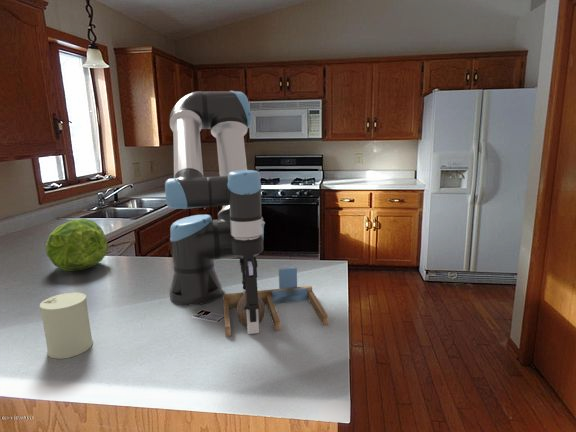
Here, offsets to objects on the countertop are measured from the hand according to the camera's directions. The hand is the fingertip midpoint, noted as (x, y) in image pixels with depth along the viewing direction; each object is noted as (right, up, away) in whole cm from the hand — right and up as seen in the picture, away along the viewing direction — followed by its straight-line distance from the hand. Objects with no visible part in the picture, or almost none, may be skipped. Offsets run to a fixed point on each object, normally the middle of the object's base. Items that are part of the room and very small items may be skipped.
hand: (251, 322), depth 100 cm
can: (-40, -3, -9) cm, 41 cm away
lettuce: (-68, +7, +46) cm, 82 cm away
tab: (+9, +6, +14) cm, 18 cm away
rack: (+5, +1, +4) cm, 7 cm away
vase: (0, 0, 0) cm, 0 cm away
